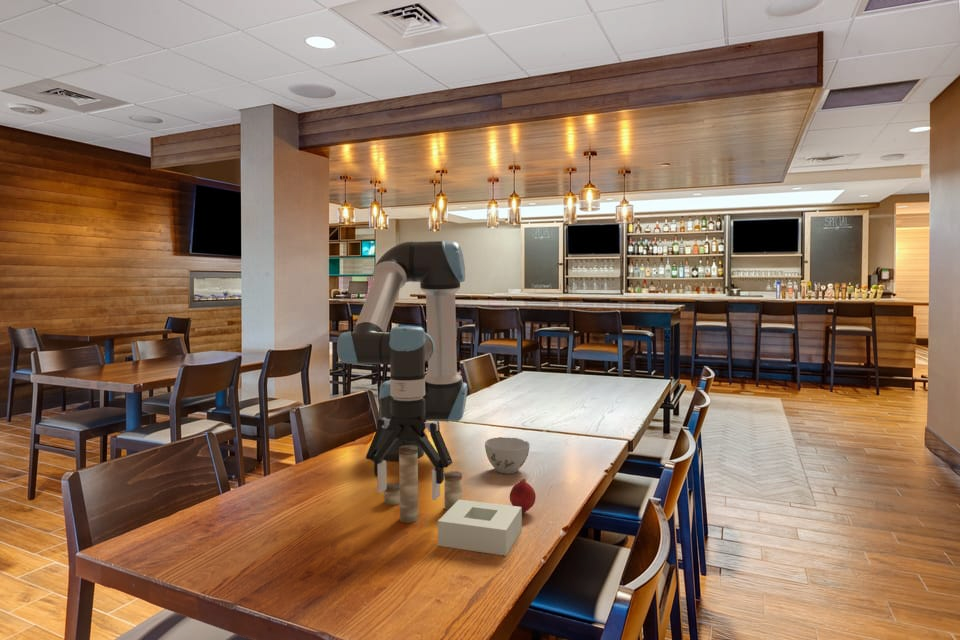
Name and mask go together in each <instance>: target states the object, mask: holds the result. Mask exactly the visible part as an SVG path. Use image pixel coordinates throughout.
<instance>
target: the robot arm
mask: <svg viewBox="0 0 960 640" xmlns="http://www.w3.org/2000/svg"><path fill="white" fill-rule="evenodd" d="M372 278H373V280H372V282H371V286H370V288H369V290H368V293H367V295H366V298H365V301H364V302H363V303H364V304H363V306H362V309H361V311H360V313H359V316H358V317H357V321H356V324H355V326H354V327H353V331H350V330H348V331H345V332H341V333H340V334H339V336H338V338H337V343H336V352H337V357H338V359H339V361H340V362H341V363H343V364H352V365H390V369H389V370H390V372H389V373H390V377H389V378H390V379H389V380H386V381H383V382H382V383H381V384H380V386H379V395H378V399H379V400H378V401H379V402H378V403H379V419H377V424H376V431H375V433H374V435H373V437H372V439H371V443H370V446H369V448H368V450H367V453H366V455H365V458H366V460H368V461H369V460H370V461H372V462H373V466H374V467H373V468H374V469H373V472H374V473H373V474H374V477H375V478H377V494H382V493H384V491H385V490H386V489H387V484H388V483H387V461H389V462H399V447H401V446H405V445H414V446H417V447H418V458H420V457H422V456H423V455H424V454H425V455H426V456H427V458H428V459H429V461H430V463H431V465H433V467H434V468H432V469H431V500H433V501H436V500H437V499H438V498H440V496H441V484H442V483H444V474H445V471H444V469H445V468H448V467H449V466H451V465H452V463H453V459H452V457H451V455H450V452H449V450H448V448H447V445H446V442H445V440H444V438H443V435H442V433H441V429H440V422H446V423H450V422H458V421H461V420H462V419H463V417H464V414H465V413H464V412H465V411H466V410H465V408H466V402H467V396H468V383H466V382H465V381H464V382H463V376H462V375H461V374H460V373H459V372H458V366H457V365H458V363H457V362H458V361H457V360H458V358H457V322H456V319H457V317H456V315H457V313H456V293H457V292H458V291H459V289H461V283H462V282H465V281H466V266H465V260H464V254H463V251H462V247H461V245H460V244H459V243H458V242H456V241H447V240H433V241H404V242H401V243H398V244H396V245H394V246H393V247H391V248H389V250H387V251H386V252H385V253H383V255H382V256H380V258H379V259H378V260H377V262H376V263H375V266H374V268H373V270H372ZM409 282H410V283H411V282H412V283H419V284H420V285H419V286H420V287H419V288H420V290H421V291H422V292H423V293H424V294H425V305H426V307H425V309H426V311H425V312H426V332H425V329H424V328H423V327H421V326H418V325H417V326H416V325H411V326H410V325H406V326H405V325H404V326H394V327H392V328H391V329H390V331H389V332H388V331H387V328H388V326H389V323H390V320H391V317H392V313H393V312H394V311H393V310H394V308H395V305H396V301H397V300H398V295H399V293H400V291H401V289H402V288H403V287H404V286H405V285H406V283H409ZM426 362H427V365H428V366H427V368H428V371H427V373H425V372H426V371H425V370H426V369H425V368H426V367H425V366H426ZM426 429H427V431H428V433H430V437H431V440H432V442H433V444H434V446H433V444H432V443H431V441H430V440H429V438H428V435H427V434H426V432H425V430H426Z"/></svg>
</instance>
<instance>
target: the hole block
mask: <svg viewBox="0 0 960 640" xmlns="http://www.w3.org/2000/svg"><path fill="white" fill-rule="evenodd" d="M522 515H523V513H522V507H518V506H512V505H510V504H509V505H508V504H507V505H506V504H500V503H491V502H482V501H474V500H467V499H462V500H460V499H459V500H458V501H457V502H456V503H455V504H454V505H453V506H452V507H451V508H450V509H449V510H448V511H447V510H446V512H445V513H444V514H443V515H442V516H441V517H440V518H439V519H438V520H437V546H439V547H445V548H449V549H451V548H452V549H458V550H465V551H472V552H479V553H485V554H491V555H497V556H503V555H504V556H506V557H507V555H508V554H509V552H510V551H511V549H512V547H513V545H514V544H515V542H516V540H517V539H518V537H519V535H520V534H521V532H522V527H523V526H522V521H523V520H522V519H523V518H522V517H523V516H522Z"/></svg>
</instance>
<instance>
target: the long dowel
mask: <svg viewBox="0 0 960 640" xmlns="http://www.w3.org/2000/svg"><path fill="white" fill-rule="evenodd" d="M418 460H419V457H418V447H417V446H414V445H405V446H401V447H399V461H398V464H399V468H398V469H399V471H398V472H399V476H398V477H399V484H400V504H399V521H400V522H401V521H402V522H401V523H403V522H406V523H405V524H412V523H411V522H413V523H415V521H416V522H417V521H418V520H419V482H418V481H419V480H418V479H419V477H418V476H419V475H418V473H419V471H418V470H419V468H418V467H419V465H418V464H419V463H418V462H419V461H418Z"/></svg>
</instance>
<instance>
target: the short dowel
mask: <svg viewBox="0 0 960 640" xmlns="http://www.w3.org/2000/svg"><path fill="white" fill-rule="evenodd" d="M383 500H384V501H383V502H384V504H385V505H386V504H387V506H397V504H398V505H400V484H399V483H398V482H390V483H389V482H388V483H387V489H386V490H385V491H383Z"/></svg>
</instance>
